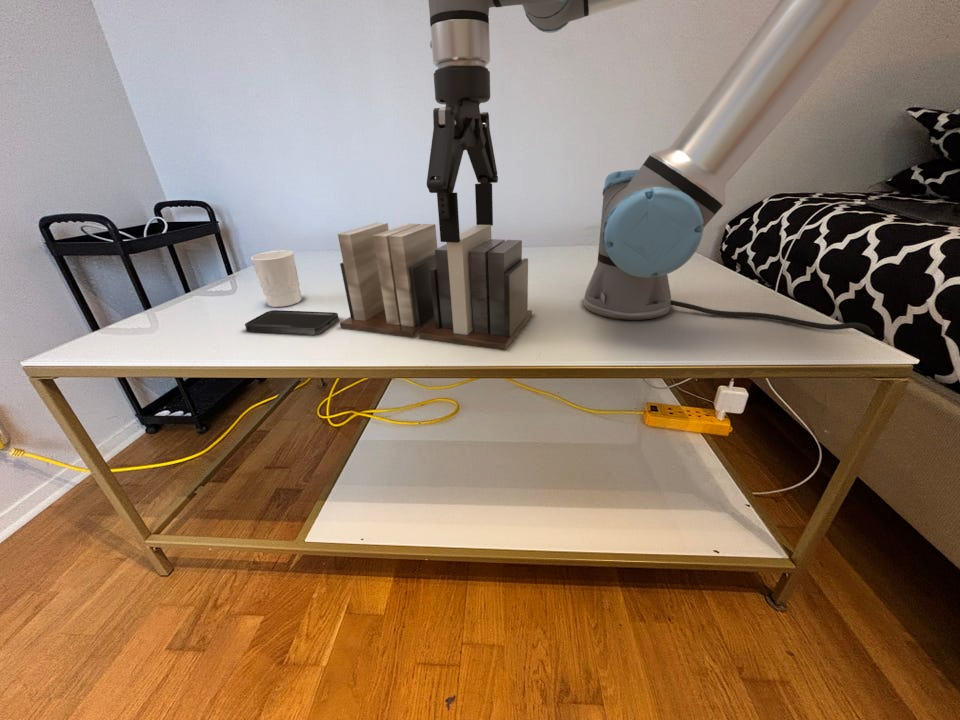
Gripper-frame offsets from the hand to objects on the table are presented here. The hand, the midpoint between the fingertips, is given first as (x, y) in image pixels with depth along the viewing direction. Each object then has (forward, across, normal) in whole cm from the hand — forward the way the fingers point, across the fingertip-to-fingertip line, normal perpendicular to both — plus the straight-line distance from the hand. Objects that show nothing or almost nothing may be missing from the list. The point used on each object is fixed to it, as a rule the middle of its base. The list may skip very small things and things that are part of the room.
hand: (468, 233), depth 64 cm
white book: (+15, 0, 0) cm, 15 cm away
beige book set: (+16, 0, -15) cm, 22 cm away
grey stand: (+16, 0, +1) cm, 16 cm away
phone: (+16, +9, -32) cm, 37 cm away
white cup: (+16, -1, -44) cm, 47 cm away
